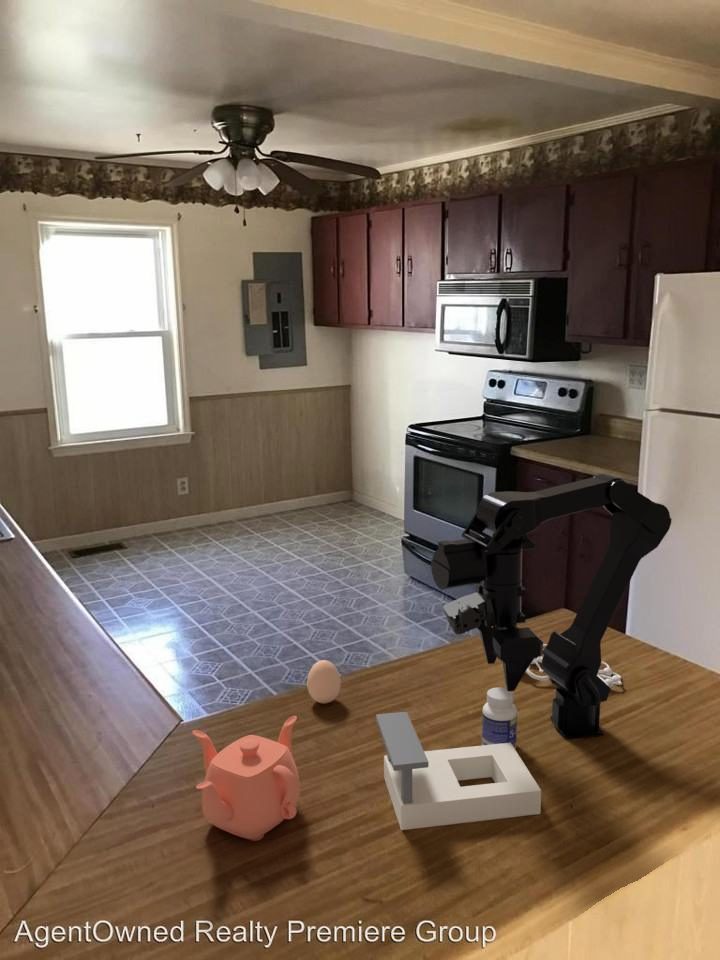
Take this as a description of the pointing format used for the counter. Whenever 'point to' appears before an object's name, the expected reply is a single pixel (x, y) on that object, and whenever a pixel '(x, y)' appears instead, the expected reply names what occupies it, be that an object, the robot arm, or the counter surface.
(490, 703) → the pill bottle
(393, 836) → the counter surface
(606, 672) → the tangled rod sculpture
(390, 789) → the socket block
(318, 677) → the egg
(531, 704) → the counter surface
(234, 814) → the teapot
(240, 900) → the counter surface
